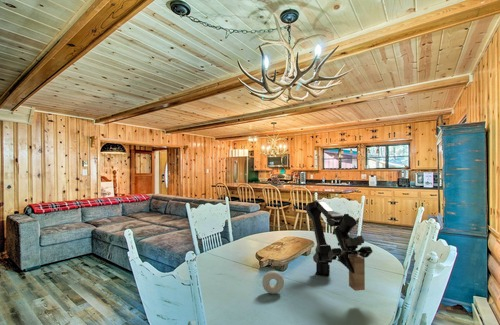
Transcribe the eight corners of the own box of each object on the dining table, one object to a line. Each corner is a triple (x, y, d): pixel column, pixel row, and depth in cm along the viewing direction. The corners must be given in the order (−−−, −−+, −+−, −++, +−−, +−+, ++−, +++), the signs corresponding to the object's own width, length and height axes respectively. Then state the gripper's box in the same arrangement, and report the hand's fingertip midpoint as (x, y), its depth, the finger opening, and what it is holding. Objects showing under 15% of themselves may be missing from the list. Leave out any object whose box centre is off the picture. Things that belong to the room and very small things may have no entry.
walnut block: (348, 285, 105) (348, 255, 105) (358, 284, 106) (358, 254, 106) (355, 290, 101) (355, 258, 101) (364, 289, 101) (364, 258, 102)
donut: (283, 291, 113) (283, 269, 114) (284, 295, 110) (284, 272, 110) (261, 291, 113) (261, 269, 113) (262, 295, 109) (262, 272, 110)
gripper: (331, 229, 106) (345, 265, 95) (369, 228, 109) (388, 262, 98) (322, 242, 114) (335, 277, 102) (359, 240, 117) (375, 274, 106)
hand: (358, 272), depth 102 cm, fingers closed on walnut block, 4 cm apart
